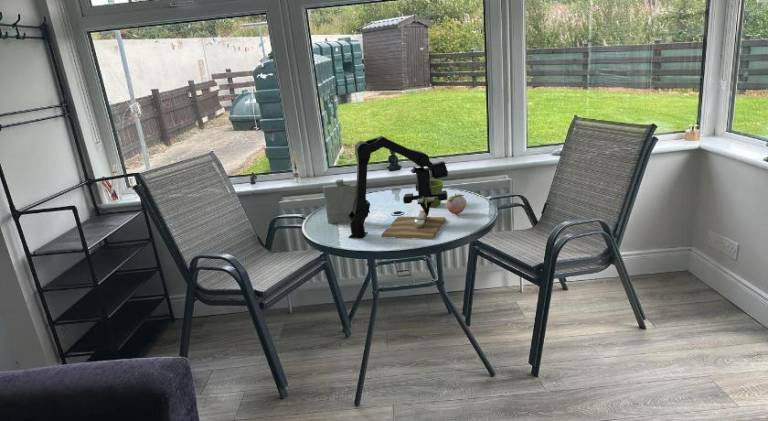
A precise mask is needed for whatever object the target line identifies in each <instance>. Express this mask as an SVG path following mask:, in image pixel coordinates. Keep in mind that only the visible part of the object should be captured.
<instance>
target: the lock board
mask: <svg viewBox="0 0 768 421" xmlns="http://www.w3.org/2000/svg"><path fill="white" fill-rule="evenodd" d="M417 217H418V216H397V217H396V218H395V219H394V220H393V221H392V222H391V223H390V225H389V226H388V227H387V228H386V229H385V230H384V231H383V232H381V238H382V237H395V238H394V239H412V238H418V239H419V238H420V239H421V240H434V239H435V238H436V235H437V234H438V233H439V231H441V228H442V227H443V226H444V223H445V222H446V221H447V218H446V216H445V217H444V216H442V217H441V216H440V217H437V216H427V218H426V220H425V222H424V227H422V228H416V227H415V221H414V220H415V219H416V218H417ZM433 238H434V239H433ZM420 239H419V240H420Z"/></svg>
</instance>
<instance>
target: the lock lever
mask: <svg viewBox="0 0 768 421" xmlns="http://www.w3.org/2000/svg"><path fill="white" fill-rule="evenodd" d="M416 217H417V218H416V219H415V220H414V221H415V227H416V228H422V227H424V222H425V220H426V218H427V217H428V216H427V215H426V213H425V211H424V210H420V211H419V214H418V215H417V216H416Z"/></svg>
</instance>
